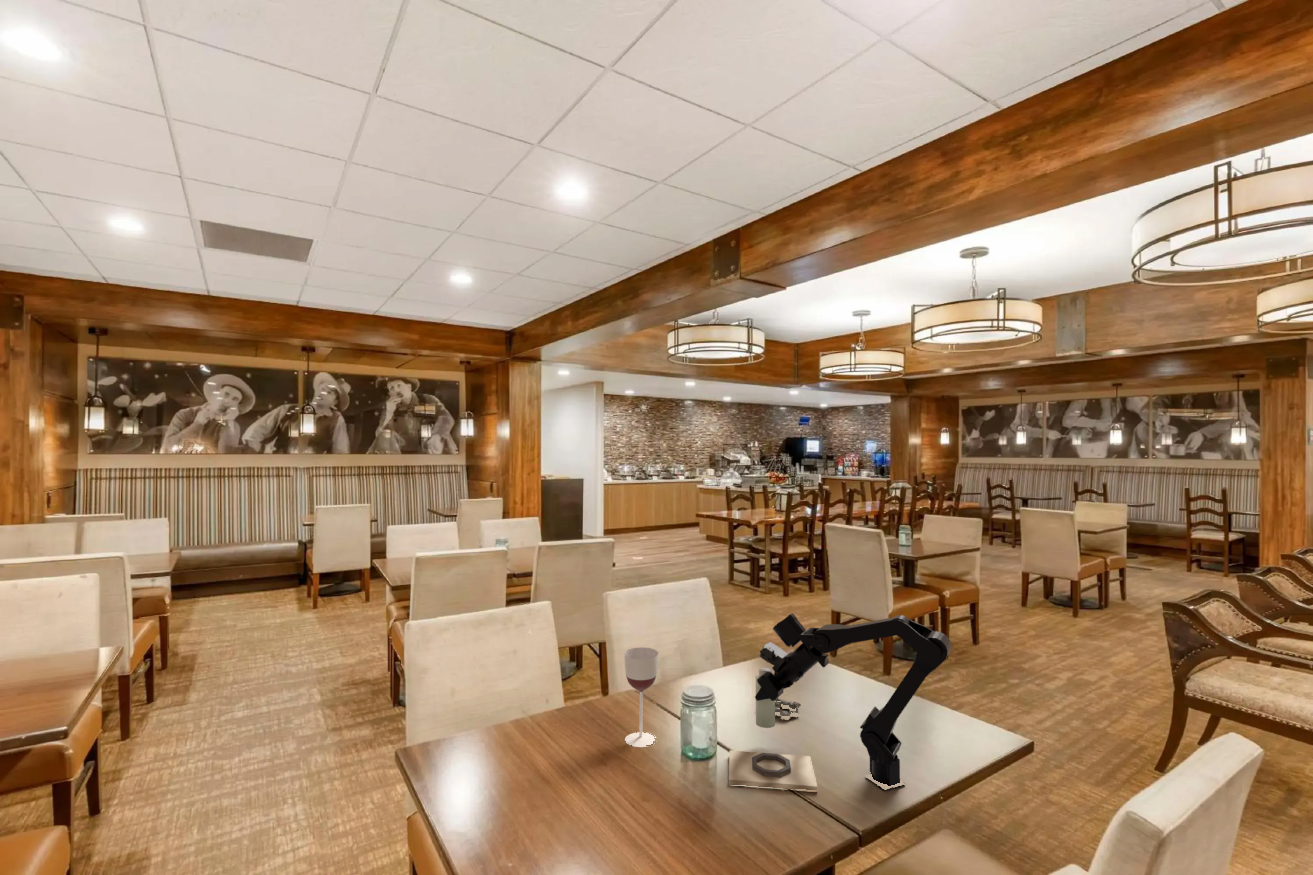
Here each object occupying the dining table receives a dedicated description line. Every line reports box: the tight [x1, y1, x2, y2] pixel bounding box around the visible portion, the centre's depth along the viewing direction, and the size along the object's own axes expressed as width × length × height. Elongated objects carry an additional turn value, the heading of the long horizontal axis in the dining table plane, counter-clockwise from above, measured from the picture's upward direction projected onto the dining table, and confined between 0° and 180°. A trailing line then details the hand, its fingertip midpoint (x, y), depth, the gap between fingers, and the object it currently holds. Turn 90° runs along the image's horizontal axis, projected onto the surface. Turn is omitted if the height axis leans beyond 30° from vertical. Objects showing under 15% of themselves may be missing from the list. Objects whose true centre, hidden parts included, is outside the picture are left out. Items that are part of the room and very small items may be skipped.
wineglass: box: [624, 646, 659, 748], centre depth 162 cm, size 9×10×23 cm
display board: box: [728, 750, 818, 791], centre depth 144 cm, size 20×14×3 cm
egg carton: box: [775, 697, 802, 716], centre depth 179 cm, size 11×8×4 cm
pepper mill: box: [755, 667, 776, 729], centre depth 158 cm, size 5×5×14 cm
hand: (760, 695), depth 159 cm, fingers closed on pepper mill, 5 cm apart
